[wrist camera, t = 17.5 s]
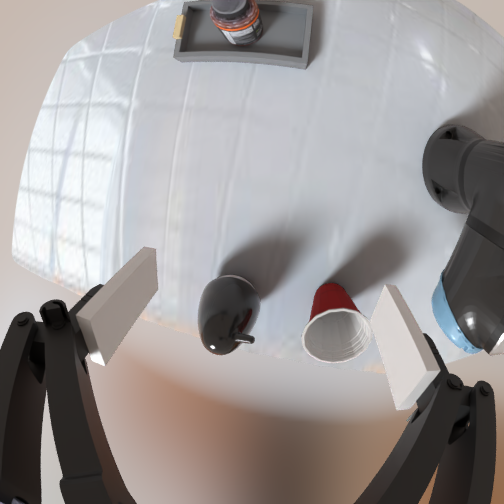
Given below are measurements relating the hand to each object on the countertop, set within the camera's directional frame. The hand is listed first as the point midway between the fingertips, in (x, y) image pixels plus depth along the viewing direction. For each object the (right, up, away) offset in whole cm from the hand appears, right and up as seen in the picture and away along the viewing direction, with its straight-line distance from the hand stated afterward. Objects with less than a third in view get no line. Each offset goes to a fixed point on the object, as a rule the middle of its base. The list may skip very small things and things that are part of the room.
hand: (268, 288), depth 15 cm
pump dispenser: (-4, -5, +35) cm, 35 cm away
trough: (-2, +35, +16) cm, 38 cm away
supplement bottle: (-2, +35, +15) cm, 38 cm away
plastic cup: (+13, -6, +33) cm, 36 cm away
